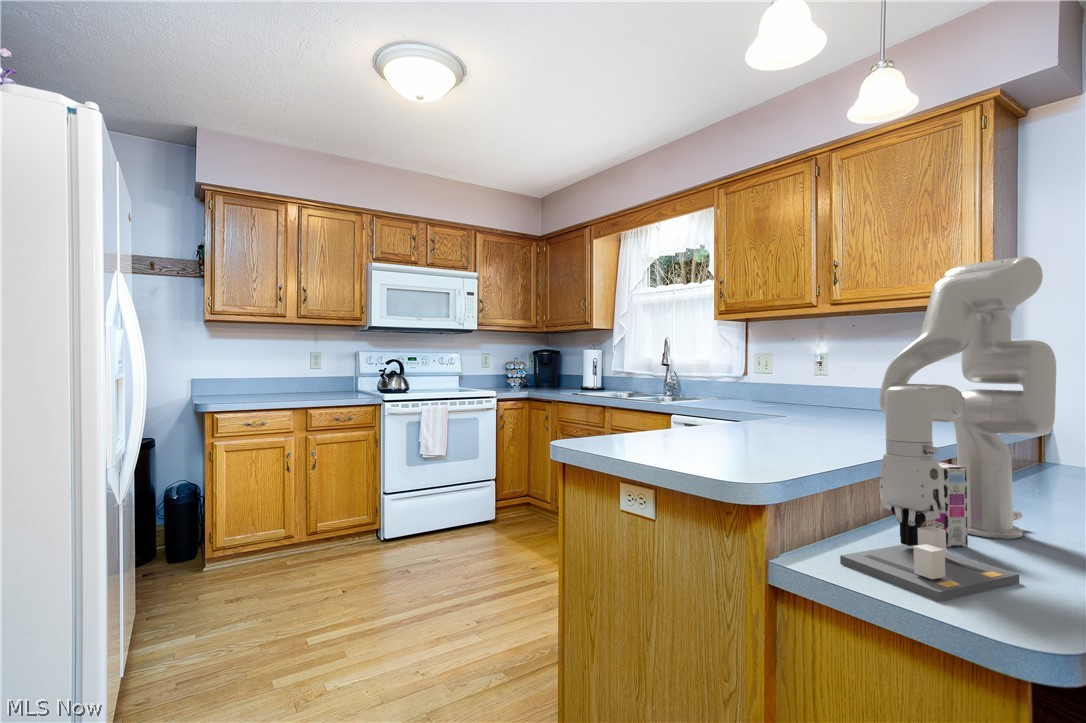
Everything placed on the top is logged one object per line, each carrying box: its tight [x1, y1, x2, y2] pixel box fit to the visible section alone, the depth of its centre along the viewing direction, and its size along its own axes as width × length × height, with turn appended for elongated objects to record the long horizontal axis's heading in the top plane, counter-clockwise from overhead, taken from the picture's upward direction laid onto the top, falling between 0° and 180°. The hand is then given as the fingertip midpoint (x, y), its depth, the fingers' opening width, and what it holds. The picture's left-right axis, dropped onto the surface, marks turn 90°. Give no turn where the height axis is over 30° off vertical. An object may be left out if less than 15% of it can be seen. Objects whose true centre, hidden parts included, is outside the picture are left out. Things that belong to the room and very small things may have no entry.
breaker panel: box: [839, 544, 1020, 602], centre depth 97 cm, size 20×18×2 cm
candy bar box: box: [921, 461, 969, 548], centre depth 115 cm, size 11×5×16 cm, turn 5°
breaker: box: [914, 544, 945, 579], centre depth 91 cm, size 3×3×4 cm
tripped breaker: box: [918, 526, 947, 555], centre depth 101 cm, size 3×3×4 cm
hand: (910, 543), depth 105 cm, fingers closed
